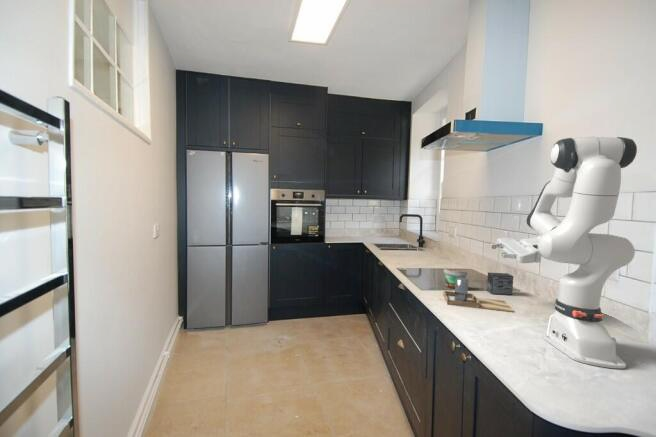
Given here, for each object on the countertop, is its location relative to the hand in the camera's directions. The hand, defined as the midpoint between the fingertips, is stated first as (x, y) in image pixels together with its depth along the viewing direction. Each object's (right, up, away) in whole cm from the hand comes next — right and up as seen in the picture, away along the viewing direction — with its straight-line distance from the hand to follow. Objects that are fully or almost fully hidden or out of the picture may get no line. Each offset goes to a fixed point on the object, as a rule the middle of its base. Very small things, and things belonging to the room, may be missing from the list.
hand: (496, 250), depth 130 cm
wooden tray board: (-6, -26, +6) cm, 27 cm away
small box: (+14, -25, +22) cm, 37 cm away
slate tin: (-13, -25, +7) cm, 30 cm away
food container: (-7, -24, +27) cm, 37 cm away
